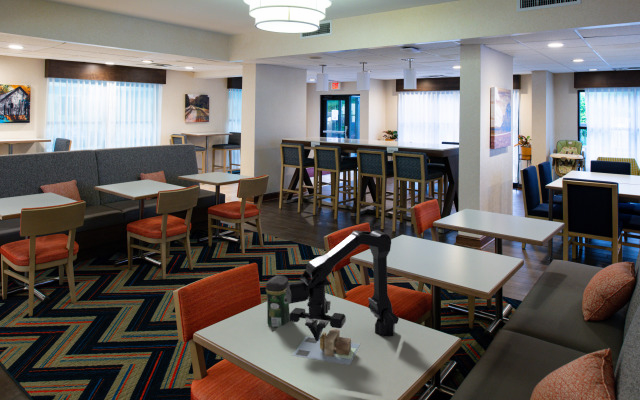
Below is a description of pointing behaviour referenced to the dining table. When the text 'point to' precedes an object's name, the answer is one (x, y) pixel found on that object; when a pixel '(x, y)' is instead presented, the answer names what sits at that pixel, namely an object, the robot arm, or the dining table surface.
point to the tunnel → (331, 341)
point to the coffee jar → (277, 301)
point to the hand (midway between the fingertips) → (317, 340)
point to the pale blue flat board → (323, 352)
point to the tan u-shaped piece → (338, 345)
